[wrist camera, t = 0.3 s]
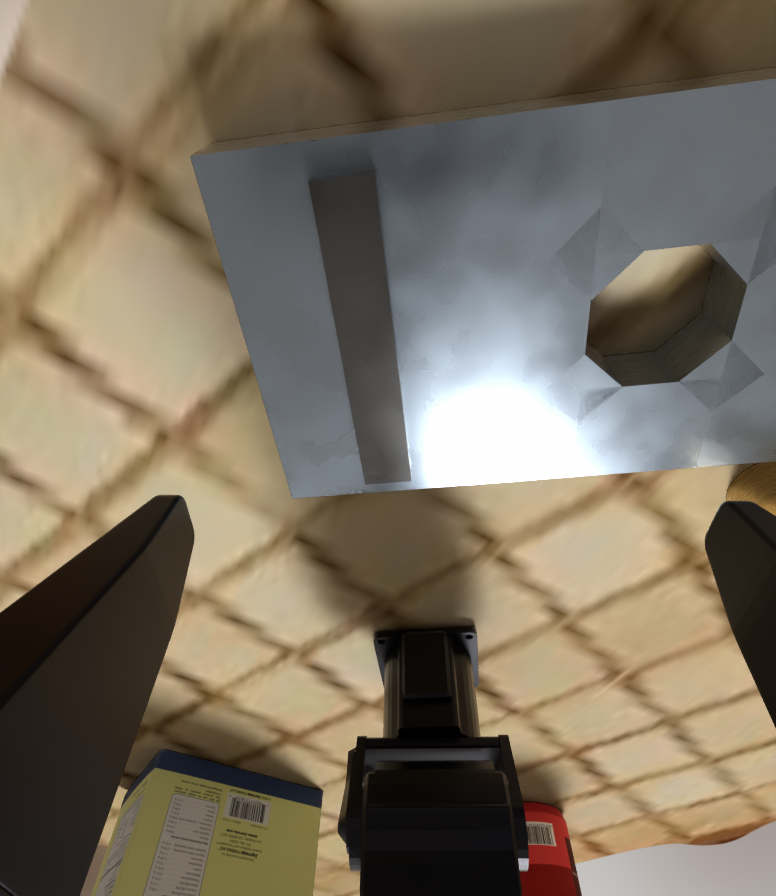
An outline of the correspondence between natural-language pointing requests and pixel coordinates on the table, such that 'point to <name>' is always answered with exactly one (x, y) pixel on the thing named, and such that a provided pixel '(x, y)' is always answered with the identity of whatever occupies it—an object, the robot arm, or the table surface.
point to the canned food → (548, 854)
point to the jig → (503, 285)
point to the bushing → (756, 486)
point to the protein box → (211, 833)
